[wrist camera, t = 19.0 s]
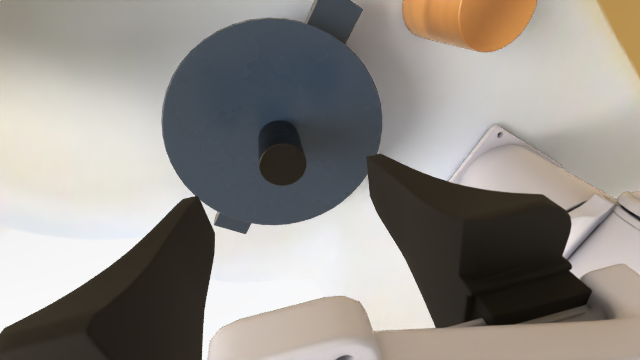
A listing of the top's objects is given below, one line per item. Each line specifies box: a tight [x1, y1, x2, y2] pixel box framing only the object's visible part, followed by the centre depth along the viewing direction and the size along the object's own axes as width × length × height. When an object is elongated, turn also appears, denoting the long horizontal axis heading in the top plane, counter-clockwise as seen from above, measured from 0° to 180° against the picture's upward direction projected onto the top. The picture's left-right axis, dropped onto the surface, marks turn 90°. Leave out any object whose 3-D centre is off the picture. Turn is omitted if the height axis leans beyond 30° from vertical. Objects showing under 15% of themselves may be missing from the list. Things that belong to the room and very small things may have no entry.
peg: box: [403, 0, 537, 52], centre depth 17 cm, size 4×4×7 cm
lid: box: [162, 18, 382, 225], centre depth 18 cm, size 13×13×4 cm
